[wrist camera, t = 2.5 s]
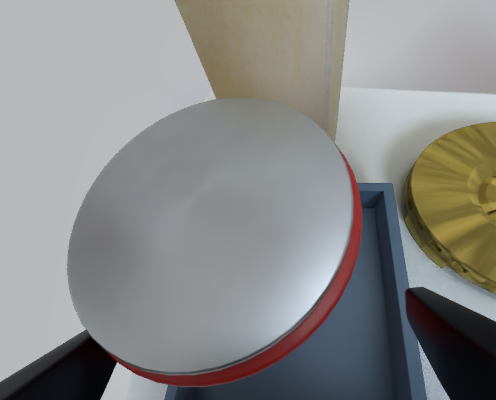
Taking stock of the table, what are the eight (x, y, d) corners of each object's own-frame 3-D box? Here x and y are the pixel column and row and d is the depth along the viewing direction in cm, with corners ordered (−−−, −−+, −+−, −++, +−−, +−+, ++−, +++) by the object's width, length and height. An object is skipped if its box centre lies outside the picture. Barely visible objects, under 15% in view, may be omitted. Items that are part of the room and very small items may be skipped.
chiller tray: (417, 499, 10) (452, 555, 8) (183, 421, 14) (153, 442, 11) (380, 204, 17) (392, 182, 15) (230, 201, 21) (218, 182, 18)
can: (327, 355, 13) (393, 468, 2) (225, 334, 15) (-6, 343, 4) (327, 248, 16) (355, 76, 5) (241, 241, 18) (130, 104, 7)
